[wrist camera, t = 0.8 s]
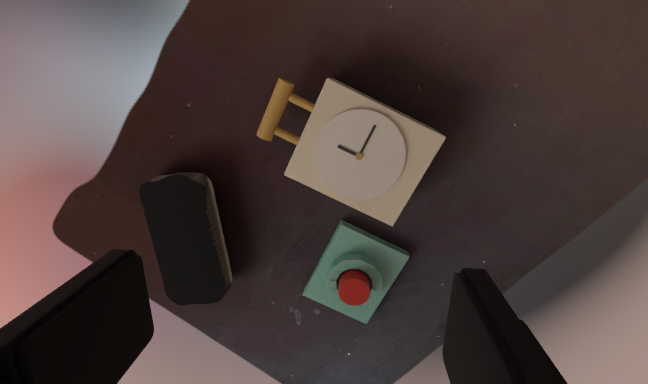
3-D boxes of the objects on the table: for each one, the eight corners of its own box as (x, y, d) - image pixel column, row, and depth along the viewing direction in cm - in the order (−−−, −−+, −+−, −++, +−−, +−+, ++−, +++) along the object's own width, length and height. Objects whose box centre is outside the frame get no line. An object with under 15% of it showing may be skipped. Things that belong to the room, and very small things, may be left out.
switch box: (341, 219, 41) (340, 230, 38) (408, 251, 41) (412, 264, 39) (304, 288, 44) (300, 303, 42) (366, 317, 45) (366, 333, 42)
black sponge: (239, 286, 45) (229, 303, 42) (178, 288, 46) (164, 305, 43) (215, 166, 40) (201, 174, 37) (147, 171, 41) (128, 180, 38)
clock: (293, 58, 35) (281, 55, 30) (433, 128, 36) (447, 138, 31) (258, 144, 39) (241, 156, 33) (387, 207, 39) (392, 228, 34)
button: (347, 264, 40) (346, 273, 38) (375, 277, 40) (375, 287, 38) (333, 287, 41) (332, 297, 39) (360, 300, 41) (361, 310, 39)
